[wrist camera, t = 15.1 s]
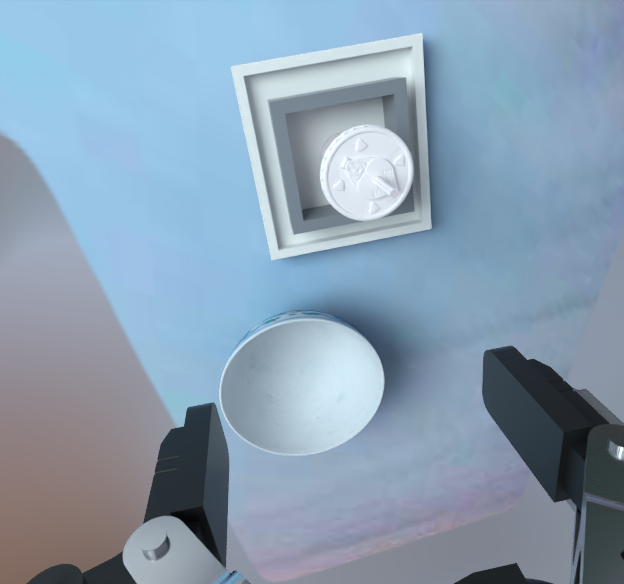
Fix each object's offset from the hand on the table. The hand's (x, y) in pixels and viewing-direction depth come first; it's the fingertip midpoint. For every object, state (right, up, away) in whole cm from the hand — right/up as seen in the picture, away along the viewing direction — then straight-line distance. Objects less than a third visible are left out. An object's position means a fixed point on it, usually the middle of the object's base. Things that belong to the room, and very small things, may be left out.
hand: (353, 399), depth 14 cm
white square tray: (+1, +16, +27) cm, 31 cm away
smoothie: (+1, +15, +26) cm, 30 cm away
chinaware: (-3, -3, +35) cm, 36 cm away
